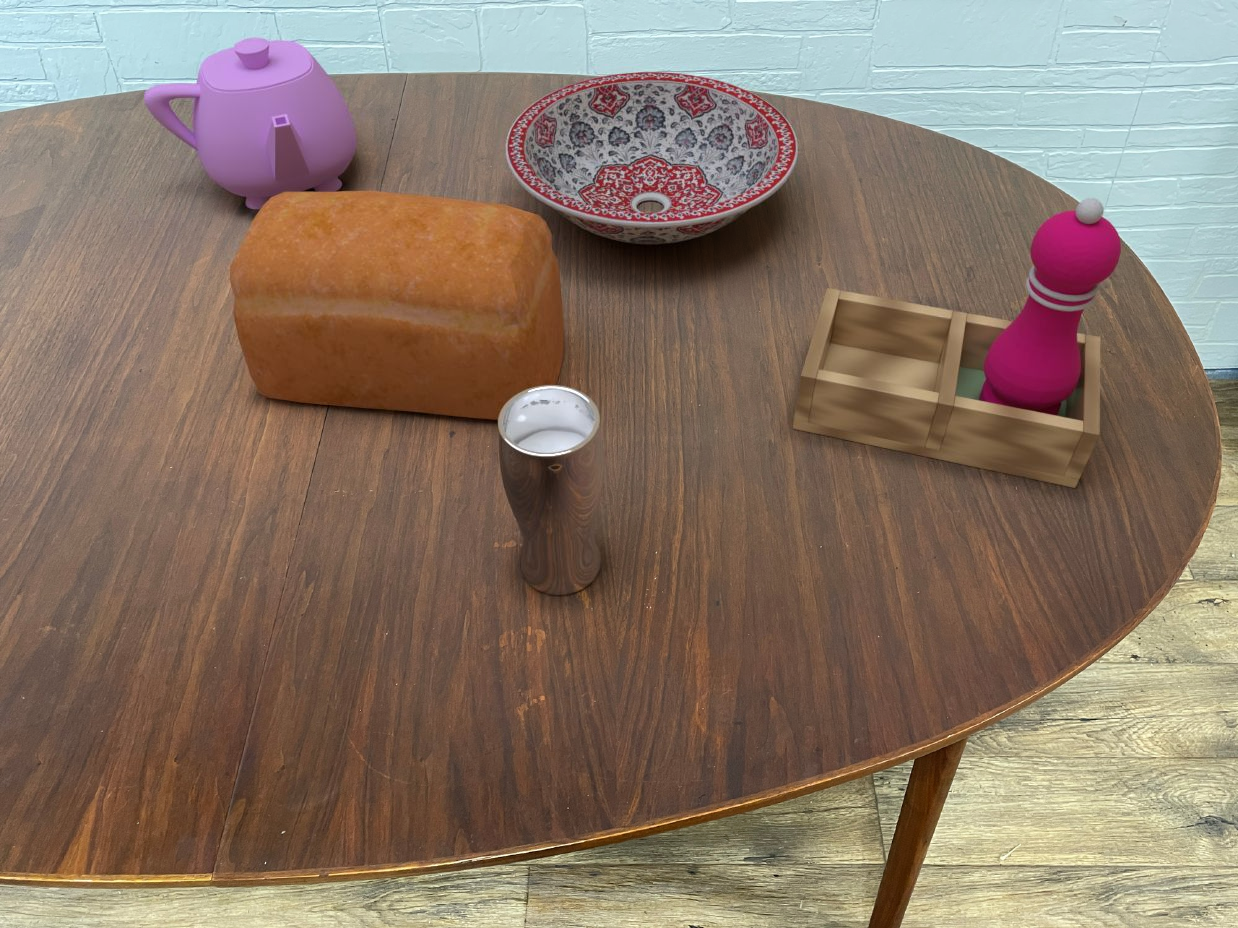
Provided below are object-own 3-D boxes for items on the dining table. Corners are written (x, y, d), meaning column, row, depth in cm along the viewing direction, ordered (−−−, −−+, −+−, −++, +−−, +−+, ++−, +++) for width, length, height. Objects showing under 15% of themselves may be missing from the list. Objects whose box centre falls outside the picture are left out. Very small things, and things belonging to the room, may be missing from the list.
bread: (544, 433, 87) (530, 280, 75) (245, 405, 90) (188, 252, 78) (572, 329, 96) (564, 178, 85) (301, 305, 99) (257, 156, 87)
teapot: (197, 261, 104) (145, 122, 93) (170, 164, 117) (122, 32, 106) (388, 214, 109) (361, 78, 98) (343, 127, 122) (315, -3, 111)
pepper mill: (1048, 380, 89) (1129, 172, 74) (1072, 440, 84) (1164, 230, 69) (963, 380, 89) (1027, 172, 75) (982, 440, 84) (1055, 230, 70)
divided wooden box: (1078, 390, 90) (1100, 336, 85) (1075, 488, 82) (1100, 434, 78) (818, 340, 95) (826, 287, 90) (792, 428, 87) (800, 375, 83)
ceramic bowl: (483, 281, 101) (474, 211, 95) (541, 130, 121) (536, 64, 115) (784, 306, 98) (794, 234, 92) (793, 146, 118) (802, 79, 112)
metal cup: (619, 538, 79) (617, 394, 68) (589, 611, 75) (582, 468, 64) (533, 518, 81) (518, 373, 70) (499, 587, 76) (477, 444, 65)
